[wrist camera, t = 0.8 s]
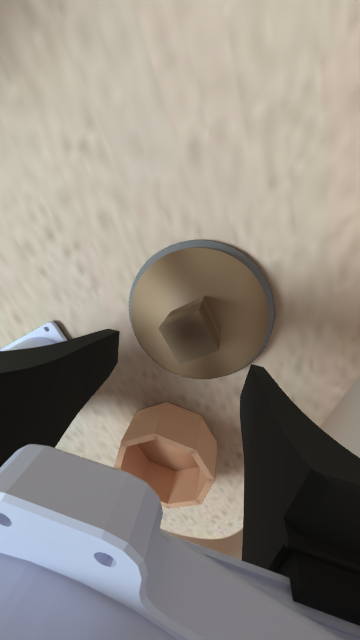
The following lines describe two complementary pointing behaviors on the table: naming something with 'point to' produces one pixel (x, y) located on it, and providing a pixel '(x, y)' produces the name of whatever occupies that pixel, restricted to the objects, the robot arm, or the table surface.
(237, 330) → the lid
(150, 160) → the table surface
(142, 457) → the bowl
